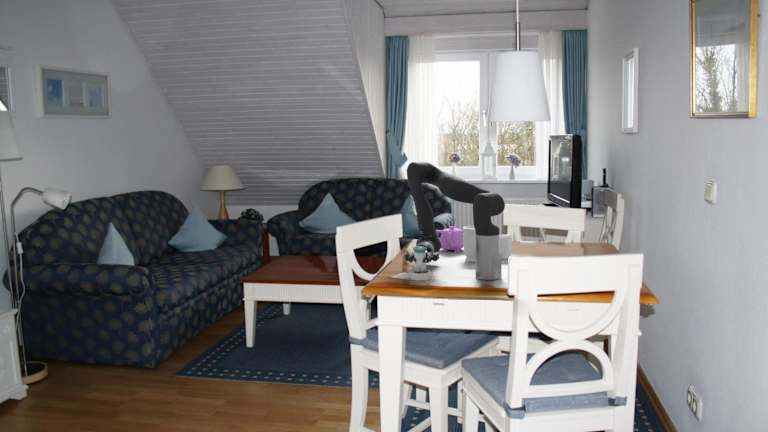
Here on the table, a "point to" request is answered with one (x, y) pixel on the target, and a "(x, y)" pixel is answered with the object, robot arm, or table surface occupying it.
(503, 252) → the white cup
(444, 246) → the pot
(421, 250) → the teal capped bottle
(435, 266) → the table surface
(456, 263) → the table surface
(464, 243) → the jar
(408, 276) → the dock
